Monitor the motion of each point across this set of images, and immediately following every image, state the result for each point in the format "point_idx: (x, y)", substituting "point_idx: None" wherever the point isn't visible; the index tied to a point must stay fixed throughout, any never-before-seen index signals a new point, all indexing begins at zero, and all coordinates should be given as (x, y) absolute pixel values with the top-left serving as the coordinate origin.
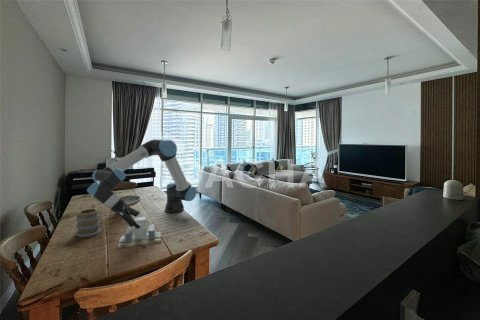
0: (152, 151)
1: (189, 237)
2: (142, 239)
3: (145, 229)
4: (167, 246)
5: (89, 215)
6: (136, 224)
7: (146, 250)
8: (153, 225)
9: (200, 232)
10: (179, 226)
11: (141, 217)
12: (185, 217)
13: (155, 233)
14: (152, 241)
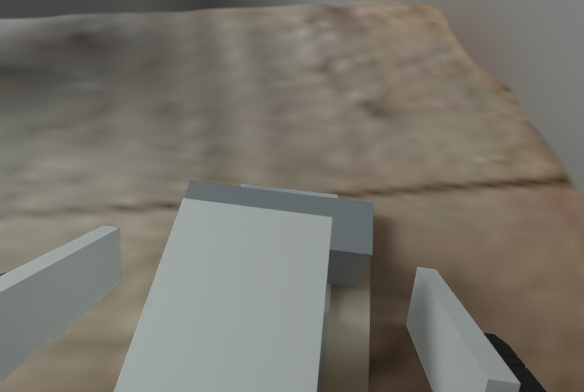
0: None
1: (356, 71)
2: (326, 343)
3: (435, 274)
4: (448, 186)
5: None
6: (539, 390)
7: (484, 327)
8: (225, 195)
9: (313, 22)
10: (156, 81)
11: (173, 272)
12: (27, 32)
13: None
14: (370, 264)
